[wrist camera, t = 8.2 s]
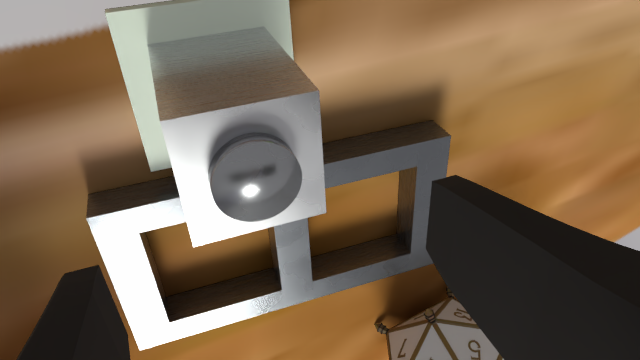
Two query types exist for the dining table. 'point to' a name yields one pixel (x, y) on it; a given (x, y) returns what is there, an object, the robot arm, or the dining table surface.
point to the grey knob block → (239, 132)
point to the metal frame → (285, 240)
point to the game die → (439, 335)
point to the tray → (173, 24)
